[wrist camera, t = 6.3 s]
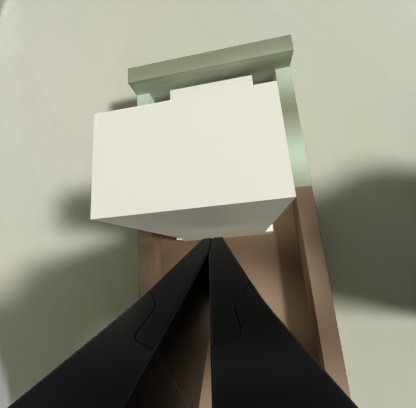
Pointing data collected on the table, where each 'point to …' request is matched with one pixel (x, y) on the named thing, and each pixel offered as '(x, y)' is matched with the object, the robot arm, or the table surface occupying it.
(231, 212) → the white block
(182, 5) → the table surface
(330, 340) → the rail track
